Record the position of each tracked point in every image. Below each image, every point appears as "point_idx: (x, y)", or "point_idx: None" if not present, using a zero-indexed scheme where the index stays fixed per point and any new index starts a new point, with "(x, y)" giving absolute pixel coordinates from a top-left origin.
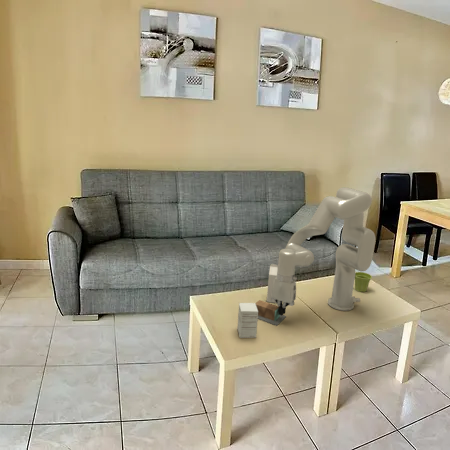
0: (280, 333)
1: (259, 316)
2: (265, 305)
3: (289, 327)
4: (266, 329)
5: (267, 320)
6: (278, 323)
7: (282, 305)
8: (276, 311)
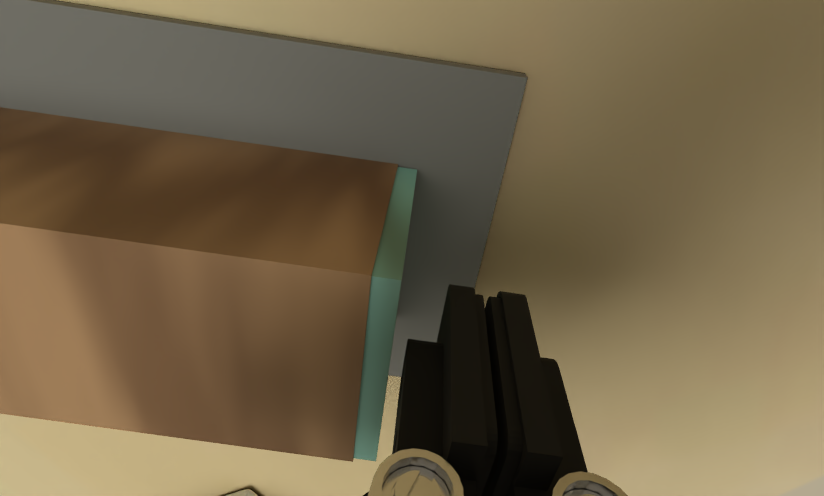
0: None
1: None
2: (70, 366)
3: (618, 341)
4: None
5: None
6: None
7: (476, 472)
8: (379, 435)
